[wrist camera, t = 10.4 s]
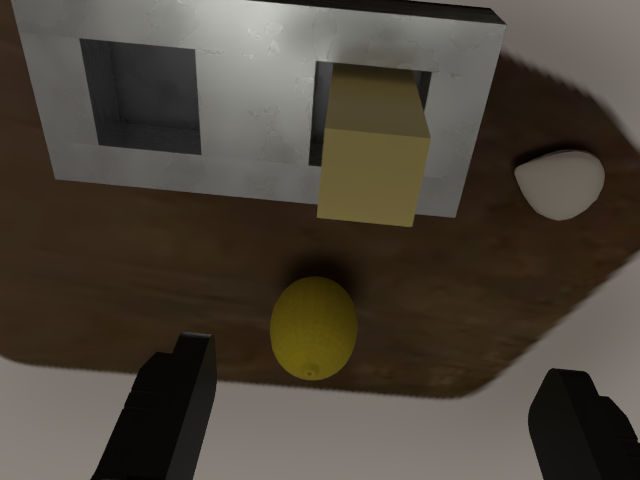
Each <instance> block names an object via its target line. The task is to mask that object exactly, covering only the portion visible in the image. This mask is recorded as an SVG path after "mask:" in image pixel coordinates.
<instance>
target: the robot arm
mask: <svg viewBox="0 0 640 480" xmlns="http://www.w3.org/2000/svg"><path fill="white" fill-rule="evenodd" d="M216 384H217V369H216V354H215V339H214V335H213V334H202V333H192V332H182V333H181V334H180V336H179V338H178V340H177V343H176V346H175V348H174V351H173V354H172V353H161V352H156V353H155V354H154V355H153V356H152V357H151V358H150V359H149V360H148V361H147V362H146V363H145V364H144V365H143V366H142V367H141V368H140V370H139V372H138V375H137V377H136V379H135V381H134V384H133V386H132V391H131V392H130V393H129V395H128V398H127V400H126V402H125V405H124V409H122V412H121V414H120V416H119V418H118V421H117V423H116V425H115V428H114V430H113V432H112V434H111V437H110V439H109V441H108V444H107V446H106V448H105V451H104V453H103V455H102V458H101V460H100V462H99V465H98V467H97V469H96V471H95V473H94V475H93V476H92V478H91V479H90V480H193V476H194V472H195V469H196V465H197V461H198V458H199V454H200V450H201V447H202V443H203V439H204V435H205V431H206V428H207V424H208V420H209V417H210V413H211V409H212V405H213V402H214V397H215V392H216ZM528 426H529V432H530V436H531V439H532V443H533V446H534V449H535V453H536V456H537V459H538V463H539V466H540V469H541V472H542V475H543V479H544V480H640V443H638V441H637V440H638V438H637V436H636V434H635V432H634V430H633V428H632V426H631V424H630V422H629V420H628V418H627V416H626V415H625V414H624V413H623V412H622V411H621V410H620V409H619V407H618V406H617V405H616V404H615V403H614V402H613V401H612V400H611V399H610V398H609V397H605V396H599V394H598V392H597V390H596V388H595V386H594V383H593V381H592V379H591V377H590V376H589V374H588V373H586V372H584V371H576V370H565V369H555V368H552V369H550V370H549V371H548V373H547V375H546V376H545V378H544V380H543V383H542V384H541V386H540V388H539V390H538V392H537V394H536V396H535V398H534V400H533V402H532V404H531V406H530V409H529V414H528Z"/></svg>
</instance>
